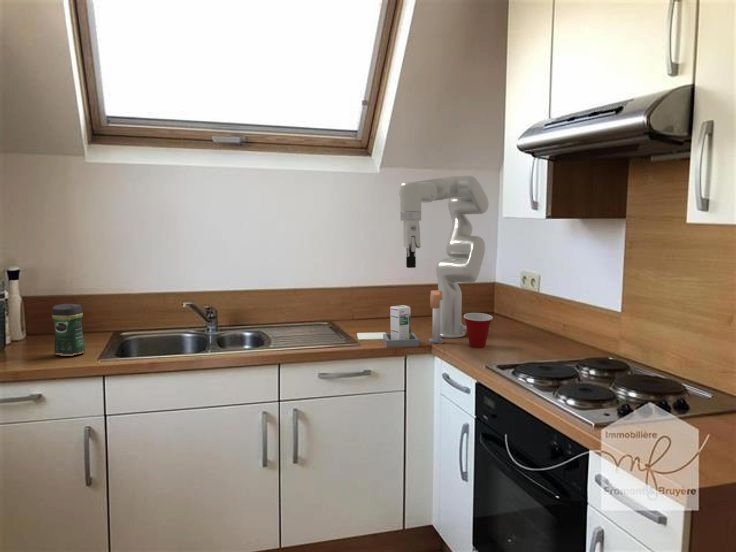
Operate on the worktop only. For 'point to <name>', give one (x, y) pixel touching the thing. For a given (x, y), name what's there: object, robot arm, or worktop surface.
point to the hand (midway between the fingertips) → (411, 267)
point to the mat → (370, 336)
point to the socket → (414, 340)
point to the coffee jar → (68, 328)
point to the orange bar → (435, 299)
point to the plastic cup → (477, 328)
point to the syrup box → (400, 322)
